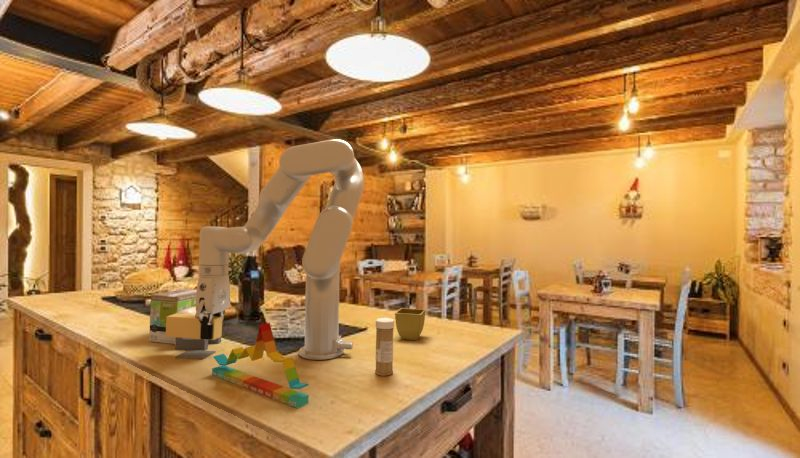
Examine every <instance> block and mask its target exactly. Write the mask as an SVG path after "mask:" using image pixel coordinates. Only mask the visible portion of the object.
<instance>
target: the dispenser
mask: <svg viewBox="0 0 800 458" xmlns="http://www.w3.org/2000/svg"><path fill="white" fill-rule="evenodd" d="M176 314H190V315H195V314H196V306H194V307H191V308H188V309H185V310H182V311H178V312H177V313H176ZM221 343H222V336H221V337H219V338H217V339H215V340H205V339H192V338H179V337H176V344H175V350H183V351H184V350H185V351H188V350H205V351H208V349H209V344H221Z"/></svg>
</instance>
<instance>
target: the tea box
mask: <svg viewBox="0 0 800 458" xmlns="http://www.w3.org/2000/svg"><path fill="white" fill-rule="evenodd" d="M196 292H197V288H182V289H178V290H177V289H176V290H172V291H165V292H159V293H154V294H153V293H152V294H151V295H150V313H149V315H150V316H149V330H148V331H149V334H148V340H149V342H152V343H161V344H173V345H176V337H166V317H167V316H170V315H173V314H176V313H177V312H178V311H182V310H185V309H188V308H191V307H194V306H196ZM205 313H207V311H206V312H205ZM205 316H208V315H205Z"/></svg>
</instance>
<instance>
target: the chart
mask: <svg viewBox="0 0 800 458" xmlns="http://www.w3.org/2000/svg"><path fill="white" fill-rule="evenodd" d="M264 353H266V357H268V358H269V359H270V360H271V361H273V362H274V363H282V366H283V370H284V373H285V376H286V380H287V382H288V385H289V388H288V387H287V386H284V385H280V384H278V383H275V382H272V381H269V380H267V379H263V378H261V377H258V376H255V375H252V374H250V373H247V372H244V371H241V370H238V369H235V368H232V367H231V366H229V365H232V364H235V363H237V361H238V360H242V359H246V358H248V357H249V358H250V359H251V361H252V362H253V361H256V360H260V359H263V357H264ZM213 359H214V361H215V362H216V363H217V364H218V366H216V367H212V368H211V375H212V376H214V377H216V378H219V379H221V380H224V381H227V382H230V383H232V384H234V385H236V386H240V387H241V388H244V389H247V390H250V391H252V392H255V393H257V394H260V395H262V396H265V397H267V398H270V399H272V400H275V401H278V402H281V403H282V404H286V405H288V406H290V407H293V408H294V409H295V408H296V409H299V408H301V407H303V406H305V405H307V404H309V394H307V393H304V392H302V391H299V390H300V389H303V388H305V387H308V386H309V385H310V384H309V383H308V382H300V378H299V376H298V372H297V368H296V365H295V362H294V359H293V357H291V356H284V355H282V354H281V353H280V352H279V351H278V350H277V346H276V342H275V339H274V335H273V331H272V327H271V323H270V322H266V323H262V324H259V327H258V331H257V336H256V340H255V345H250V346H247V347H245V348H244V347H243V346H240V347H237V348H233V349H231V351H230V354H229V356H228V357H227V356H226V355H225V353H220V354H217V355H214V356H213Z"/></svg>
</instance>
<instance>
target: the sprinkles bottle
mask: <svg viewBox="0 0 800 458" xmlns="http://www.w3.org/2000/svg"><path fill="white" fill-rule="evenodd" d="M375 328H376V334H375V335H376V336H375V337H376V338H375V339H376V340H375V370H374V372H375V374H376V375H377V376H381V377H385V376H391V375H392V374H393V373H394V369H393V367H394V366H393V361H394V328H395V320H394V319H393V318H390V317H379V318H377V319H375Z"/></svg>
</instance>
